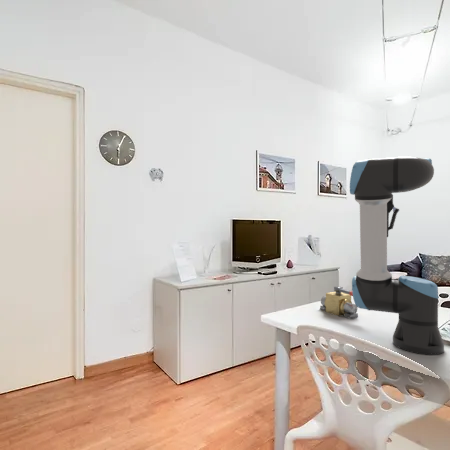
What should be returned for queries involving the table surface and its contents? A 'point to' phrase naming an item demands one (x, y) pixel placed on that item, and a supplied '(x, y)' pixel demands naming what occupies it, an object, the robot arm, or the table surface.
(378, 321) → the table surface
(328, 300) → the valve
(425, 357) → the table surface
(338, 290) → the lever
